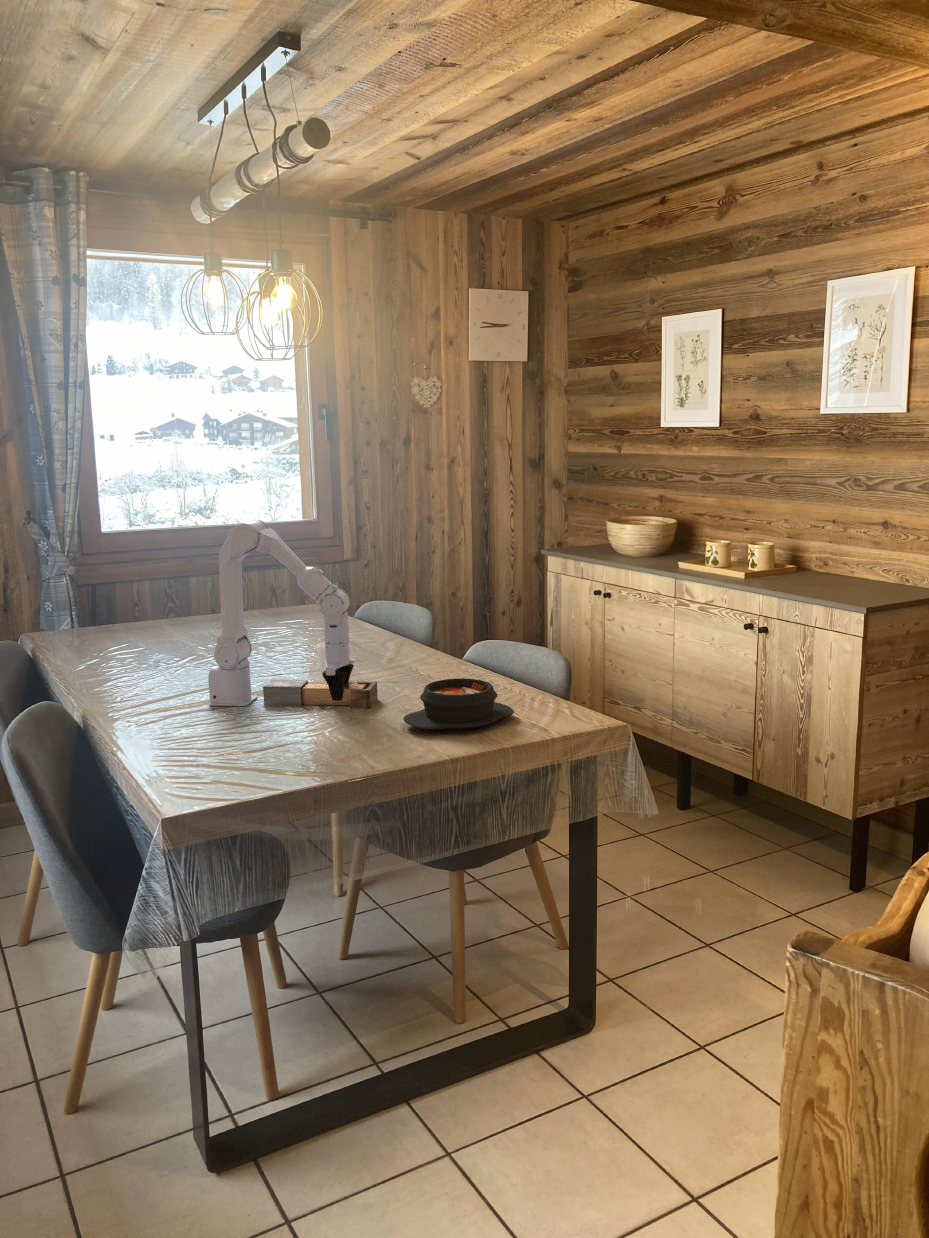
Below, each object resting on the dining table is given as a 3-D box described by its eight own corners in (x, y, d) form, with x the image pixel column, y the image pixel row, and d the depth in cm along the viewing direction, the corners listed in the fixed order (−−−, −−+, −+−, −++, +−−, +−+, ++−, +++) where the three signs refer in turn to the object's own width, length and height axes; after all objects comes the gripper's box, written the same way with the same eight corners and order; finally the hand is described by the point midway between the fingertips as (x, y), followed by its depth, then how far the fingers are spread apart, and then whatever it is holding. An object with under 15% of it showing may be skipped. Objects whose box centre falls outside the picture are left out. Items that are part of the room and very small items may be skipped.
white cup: (321, 687, 248) (319, 648, 246) (317, 679, 256) (315, 642, 254) (352, 684, 250) (350, 646, 248) (347, 677, 258) (345, 639, 256)
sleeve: (264, 706, 231) (263, 686, 231) (273, 698, 238) (271, 679, 237) (301, 706, 230) (300, 687, 229) (308, 699, 237) (307, 679, 236)
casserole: (489, 705, 229) (489, 670, 227) (530, 725, 212) (529, 688, 211) (390, 721, 218) (389, 684, 216) (424, 743, 201) (423, 704, 200)
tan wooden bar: (296, 704, 232) (295, 688, 231) (301, 699, 236) (300, 683, 235) (362, 705, 230) (361, 688, 229) (366, 700, 234) (365, 684, 233)
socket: (351, 708, 228) (350, 690, 227) (358, 699, 236) (358, 681, 235) (370, 708, 228) (369, 690, 227) (377, 699, 235) (376, 681, 234)
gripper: (346, 648, 222) (348, 706, 225) (360, 635, 236) (363, 689, 239) (315, 648, 223) (318, 705, 226) (332, 635, 237) (334, 689, 240)
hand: (339, 697), depth 232 cm, fingers closed on tan wooden bar, 4 cm apart
